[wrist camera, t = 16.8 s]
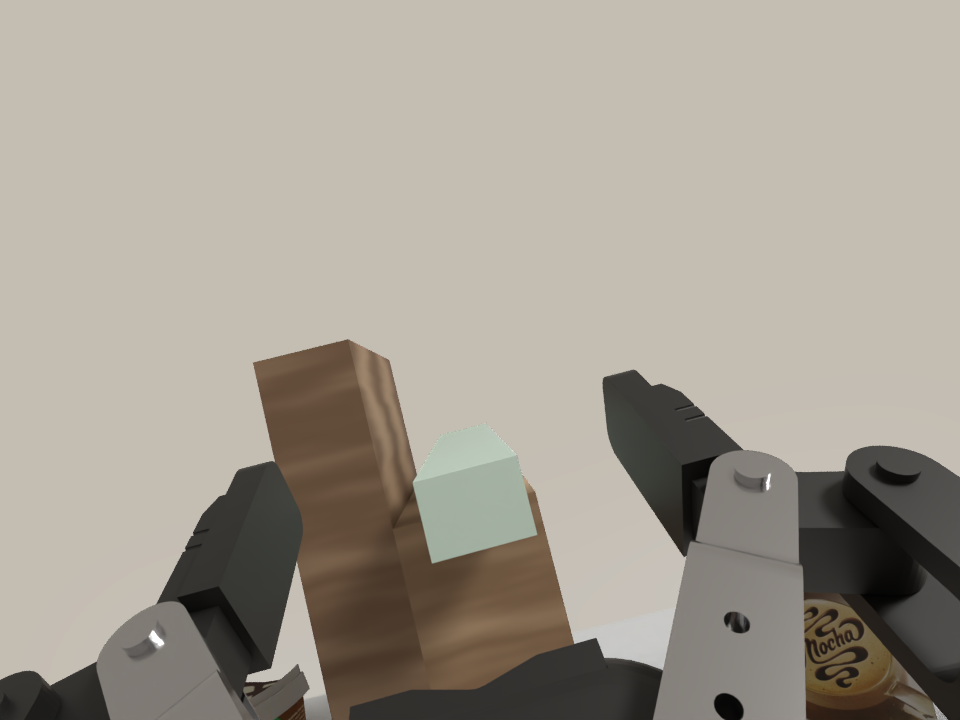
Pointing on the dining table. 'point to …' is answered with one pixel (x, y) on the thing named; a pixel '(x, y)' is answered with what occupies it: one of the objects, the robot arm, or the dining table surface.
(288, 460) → the brown wooden tall block
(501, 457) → the sage bar
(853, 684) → the coffee box
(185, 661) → the robot arm
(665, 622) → the dining table surface
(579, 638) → the dining table surface
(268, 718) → the food container
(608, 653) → the dining table surface
